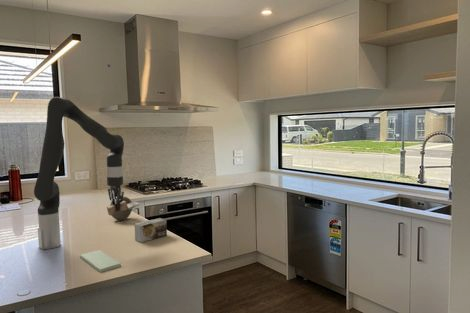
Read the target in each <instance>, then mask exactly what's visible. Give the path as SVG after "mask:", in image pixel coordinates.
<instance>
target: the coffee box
mask: <svg viewBox="0 0 470 313" xmlns="http://www.w3.org/2000/svg"><path fill="white" fill-rule="evenodd" d="M167 229H168V228H167V219H165V218H162V217H158V218H155V219H153V218H152V219H150V220H146V221H142V222H141V221H140V222H136V223H134V240H135V241H136V242H139V243H142V244H143V243H145V242H149V241H151V240H155V239H160V238H163V237H165V236H167V235H168V234H167V232H168V230H167Z"/></svg>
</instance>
